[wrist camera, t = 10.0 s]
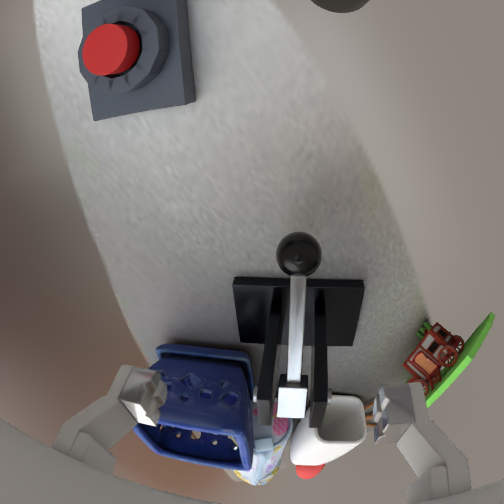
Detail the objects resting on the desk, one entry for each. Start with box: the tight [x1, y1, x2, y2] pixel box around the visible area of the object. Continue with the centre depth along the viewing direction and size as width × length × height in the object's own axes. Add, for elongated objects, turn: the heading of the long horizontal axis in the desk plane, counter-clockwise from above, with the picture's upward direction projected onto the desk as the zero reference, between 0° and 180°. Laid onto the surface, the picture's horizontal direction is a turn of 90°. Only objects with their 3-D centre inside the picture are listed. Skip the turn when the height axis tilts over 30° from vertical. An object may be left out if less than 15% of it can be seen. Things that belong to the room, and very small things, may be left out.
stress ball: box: [296, 463, 325, 479], centre depth 50 cm, size 5×9×6 cm
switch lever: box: [276, 232, 322, 418], centre depth 22 cm, size 14×3×3 cm, turn 5°
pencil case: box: [230, 397, 293, 486], centre depth 41 cm, size 21×9×10 cm, turn 179°
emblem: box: [364, 401, 376, 427], centre depth 40 cm, size 12×10×1 cm
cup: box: [290, 395, 367, 466], centre depth 39 cm, size 7×7×15 cm
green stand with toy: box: [402, 312, 495, 408], centre depth 28 cm, size 15×15×6 cm
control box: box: [78, 0, 195, 121], centre depth 18 cm, size 10×8×4 cm
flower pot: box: [132, 344, 254, 471], centre depth 33 cm, size 13×13×12 cm
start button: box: [82, 24, 140, 75], centre depth 15 cm, size 4×4×2 cm
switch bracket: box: [232, 277, 365, 428], centre depth 26 cm, size 8×12×12 cm, turn 94°
